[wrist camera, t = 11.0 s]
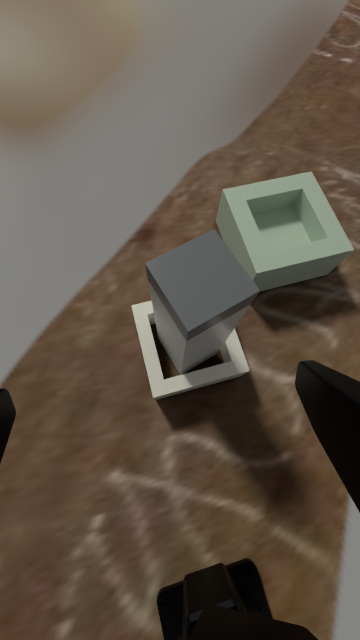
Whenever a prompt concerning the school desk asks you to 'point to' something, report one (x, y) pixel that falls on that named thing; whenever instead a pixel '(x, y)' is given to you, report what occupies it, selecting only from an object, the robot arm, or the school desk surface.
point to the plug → (198, 298)
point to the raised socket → (282, 230)
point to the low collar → (189, 381)
